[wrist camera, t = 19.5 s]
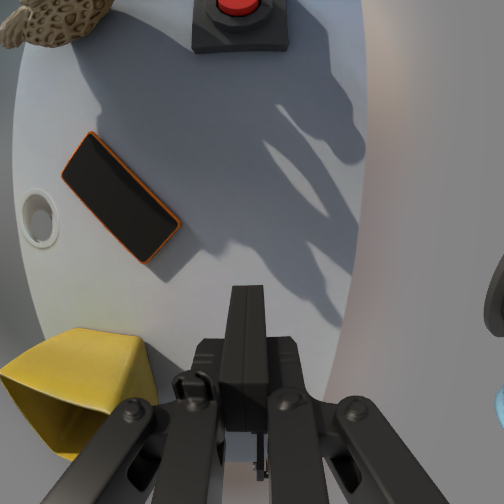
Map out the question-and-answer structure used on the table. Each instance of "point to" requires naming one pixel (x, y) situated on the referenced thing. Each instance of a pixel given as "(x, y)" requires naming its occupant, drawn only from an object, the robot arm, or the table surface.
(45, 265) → the table surface
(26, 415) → the flower pot
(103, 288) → the table surface
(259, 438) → the switch bracket
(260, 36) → the control block
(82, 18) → the teapot
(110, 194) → the smartphone
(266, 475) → the switch lever
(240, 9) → the power button
